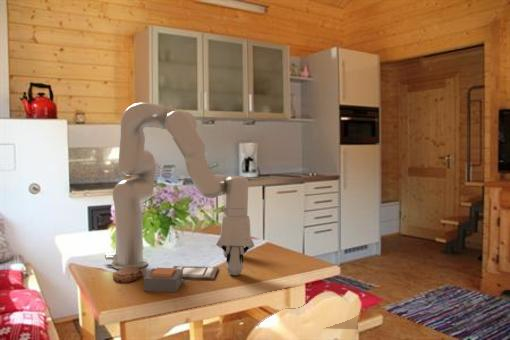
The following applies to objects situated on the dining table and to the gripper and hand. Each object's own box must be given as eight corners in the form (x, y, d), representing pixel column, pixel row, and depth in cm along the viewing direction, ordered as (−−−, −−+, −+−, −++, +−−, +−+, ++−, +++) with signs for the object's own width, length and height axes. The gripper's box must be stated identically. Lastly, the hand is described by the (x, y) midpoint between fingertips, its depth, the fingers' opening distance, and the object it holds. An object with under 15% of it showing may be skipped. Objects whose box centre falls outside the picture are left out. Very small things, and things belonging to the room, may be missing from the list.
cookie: (110, 284, 140) (110, 275, 139) (113, 274, 150) (113, 266, 150) (142, 282, 142) (142, 273, 142) (143, 272, 152) (143, 264, 152)
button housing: (143, 291, 134) (143, 278, 133) (152, 280, 144) (152, 268, 143) (176, 292, 133) (176, 279, 133) (182, 281, 143) (182, 269, 143)
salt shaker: (240, 276, 147) (241, 239, 146) (224, 275, 148) (225, 237, 147) (244, 271, 153) (245, 235, 152) (228, 270, 154) (229, 234, 153)
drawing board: (166, 278, 145) (166, 275, 145) (174, 267, 157) (174, 265, 157) (213, 280, 145) (213, 277, 145) (218, 269, 157) (218, 266, 157)
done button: (152, 282, 135) (152, 273, 135) (157, 276, 141) (157, 267, 141) (171, 283, 135) (171, 273, 135) (175, 277, 141) (175, 268, 141)
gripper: (211, 213, 145) (209, 267, 147) (260, 215, 145) (258, 269, 146) (214, 209, 153) (212, 260, 154) (260, 211, 152) (258, 262, 154)
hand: (234, 264), depth 150 cm, fingers closed on salt shaker, 3 cm apart
